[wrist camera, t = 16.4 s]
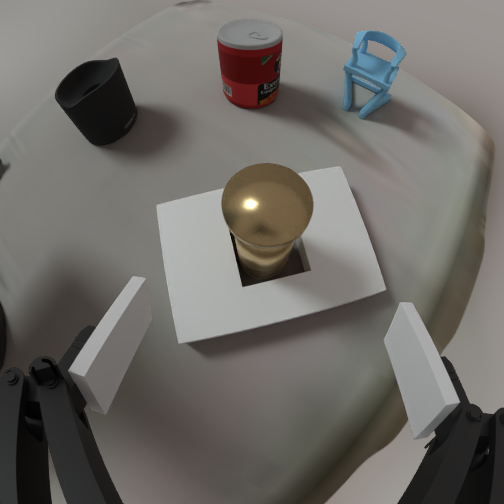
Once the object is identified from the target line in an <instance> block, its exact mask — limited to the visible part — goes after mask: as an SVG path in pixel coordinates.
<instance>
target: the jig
mask: <svg viewBox="0 0 504 504" xmlns="http://www.w3.org/2000/svg"><path fill="white" fill-rule="evenodd" d="M297 174H298V175H299V176H301V177H302V178H303V180H304V181H305V182H306V183H307V185H308V186H309V188H310V191H311V193H312V196H313V205H314V208H313V214H312V217H311V220H310V222H309V224H308V227H307V228H306V230H305V231H304V233H303V234H302V235H301V236H300V237H299V238H298V239H297V240H295V241H296V244H297V248H298V251H299V254H300V258H301V261H302V265H303V268H304V271H305V272H303V273H299V274H295V275H291V276H287V277H283V278H279V279H275V280H271V281H267V282H263V283H259V284H255V285H250V286H246V287H242V283H241V279H240V275H239V271H238V266H237V262H236V258H235V254H234V249H233V245H232V241H231V236H230V233H231V231H230V230H229V228H228V227H227V225H226V223H225V220H224V217H223V213H222V207H221V200H222V194H223V191H224V189H225V188H223V189H219V190H215V191H210V192H206V193H202V194H198V195H194V196H190V197H186V198H182V199H178V200H174V201H170V202H167V203H163V204H159V205H156V206H157V215H158V223H159V231H160V239H161V246H162V253H163V260H164V267H165V273H166V279H167V285H168V291H169V297H170V302H171V308H172V313H173V318H174V323H175V328H176V333H177V338H178V343H179V344H186V343H191V342H197V341H202V340H206V339H211V338H216V337H221V336H225V335H230V334H234V333H239V332H243V331H247V330H252V329H256V328H260V327H264V326H268V325H272V324H276V323H280V322H284V321H288V320H292V319H295V318H299V317H303V316H306V315H310V314H314V313H317V312H321V311H324V310H328V309H331V308H334V307H338V306H341V305H344V304H348V303H351V302H354V301H357V300H361V299H364V298H367V297H370V296H373V295H376V294H378V293H380V292H383V291H385V290H386V287H385V284H384V281H383V277H382V274H381V271H380V268H379V265H378V262H377V259H376V256H375V253H374V250H373V247H372V244H371V241H370V239H369V236H368V233H367V230H366V228H365V225H364V222H363V220H362V217H361V214H360V212H359V209H358V207H357V204H356V202H355V199H354V197H353V194H352V192H351V189H350V187H349V185H348V182H347V180H346V178H345V175H344V173H343V171H342V169H341V166H338V167H331V168H325V169H319V170H313V171H307V172H302V173H297Z"/></svg>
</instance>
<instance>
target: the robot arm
mask: <svg viewBox="0 0 504 504" xmlns="http://www.w3.org/2000/svg"><path fill="white" fill-rule="evenodd" d="M152 320H153V318H152V312H151V307H150V300H149V294H148V287H147V280H146V278H142V277H135V276H133V277H132V278H131V280H130V281H129V282H128V284H127V285H126V286H125V288H124V289H123V290H122V292H121V293H120V294H119V296H118V297H117V299H116V300H115V301H114V303H113V304H112V306H111V307H110V308H109V310H108V311H107V313H106V314H105V316H104V317H103V318H102V320H101V321H100V323H99V324H98V326H97V327H94V326H90V325H89V326H87V327H86V328H85V329H83V330H82V331H81V332H80V333H79V334H78V336H77V337H76V339H75V341H74V342H73V343H72V344H71V347H69V349H68V350H67V352H66V353H65V355H64V356H63V358H62V359H61V361H60V362H59V364H58V365H57V364H56V362H55V360H54V359H52V358H51V357H48V356H43V357H39V358H37V359H35V360H34V361H33V362H32V363H31V365H30V367H29V374H30V375H31V377H30V376H25V375H24V374H23V372H22V370H20V369H19V368H10V369H8V370H6V371H5V372H4V373H3V375H2V377H1V380H0V504H52V500H51V491H50V480H49V465H48V445H49V449H50V453H51V457H52V460H53V464H54V467H55V470H56V474H57V477H58V480H59V483H60V486H61V488H62V491H63V494H64V497H65V499H66V502H67V504H123V502H122V500H121V498H120V496H119V494H118V492H117V490H116V488H115V486H114V484H113V482H112V480H111V478H110V475H109V473H108V471H107V469H106V466H105V464H104V462H103V459H102V457H101V454H100V452H99V449H98V447H97V444H96V441H95V439H94V436H93V433H92V430H91V428H90V425H89V422H88V419H87V416H86V413H85V411H84V408H85V406H86V404H88V406H89V408H90V409H91V410H92V411H95V412H97V413H100V414H103V415H106V414H107V412H108V410H109V408H110V405H111V403H112V401H113V399H114V397H115V395H116V392H117V390H118V388H119V386H120V384H121V382H122V380H123V378H124V376H125V373H126V371H127V369H128V367H129V365H130V363H131V361H132V359H133V357H134V355H135V353H136V351H137V349H138V347H139V345H140V343H141V341H142V339H143V337H144V335H145V333H146V331H147V329H148V327H149V325H150V323H151V321H152ZM5 343H6V335H5V323H4V317H3V312H2V308H1V305H0V370H1V367H2V364H3V360H4V355H5ZM384 343H385V346H386V349H387V351H388V354H389V357H390V360H391V363H392V366H393V369H394V372H395V375H396V379H397V382H398V385H399V388H400V391H401V395H402V398H403V401H404V405H405V408H406V412H407V415H408V419H409V423H410V427H411V430H412V434H413V438H414V439H420V438H425V437H428V436H429V435H430V434H431V433H432V432H433V431H435V434H436V436H435V437H434V438H433V439H432V440H431V441H430V442H429V443H428V444H427V445H426V446H425V447H424V448H425V449H426V448H427V447H428V446H429V445H430V446H429V448H428V450H427V453H426V454H425V456H424V459H423V460H422V462H421V464H420V466H419V468H418V470H417V472H416V474H415V475H414V477H413V479H412V481H411V482H410V484H409V486H408V487H407V489H406V491H405V492H404V494H403V496H402V497H401V499H400V500H399V502H398V503H397V504H504V408H500V409H498V410H497V411H496V412H495V413H494V414H487V413H483V412H482V410H481V409H480V408H479V407H478V406H477V405H474V404H470V403H469V401H468V398H467V396H466V393H465V391H464V389H463V387H462V384H461V382H460V380H459V378H458V376H457V374H456V372H455V369H454V367H453V365H452V363H451V362H450V361H449V360H448V359H447V358H446V357H445V356H444V357H440V356H439V354H438V352H437V349H436V347H435V345H434V343H433V341H432V339H431V337H430V335H429V333H428V332H427V330H426V328H425V326H424V324H423V322H422V320H421V318H420V316H419V315H418V313H417V311H416V309H415V307H414V305H413V304H412V303H408V302H400V304H399V306H398V309H397V311H396V313H395V316H394V318H393V320H392V323H391V325H390V327H389V330H388V332H387V334H386V336H385V338H384ZM488 449H489V452H488Z"/></svg>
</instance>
